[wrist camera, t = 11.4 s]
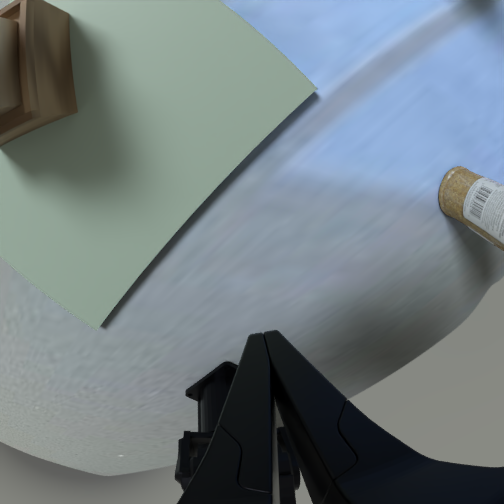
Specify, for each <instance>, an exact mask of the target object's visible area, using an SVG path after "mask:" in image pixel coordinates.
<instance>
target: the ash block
mask: <svg viewBox="0 0 504 504" xmlns="http://www.w3.org/2000/svg"><path fill="white" fill-rule="evenodd" d="M20 105H22V103H21V95H20V85H19V74H18V56H17V21H13V20H9V19H6V18H2V17H0V116H2V115H4V114H6V113H7V112H9V111H11V110H13V109H15V108H16V107H18V106H20Z"/></svg>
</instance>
